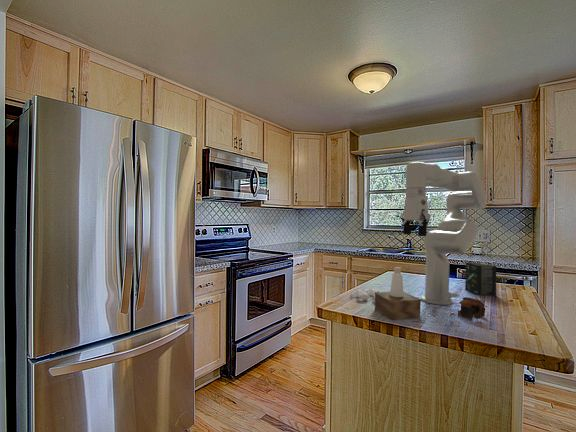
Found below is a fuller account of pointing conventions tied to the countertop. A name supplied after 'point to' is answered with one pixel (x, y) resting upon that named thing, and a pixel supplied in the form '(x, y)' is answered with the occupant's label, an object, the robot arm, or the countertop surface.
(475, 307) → the dark brown rounded lump
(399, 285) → the pepper shaker
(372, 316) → the countertop surface
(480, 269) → the tampon box
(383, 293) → the walnut box
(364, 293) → the tangled rod sculpture
